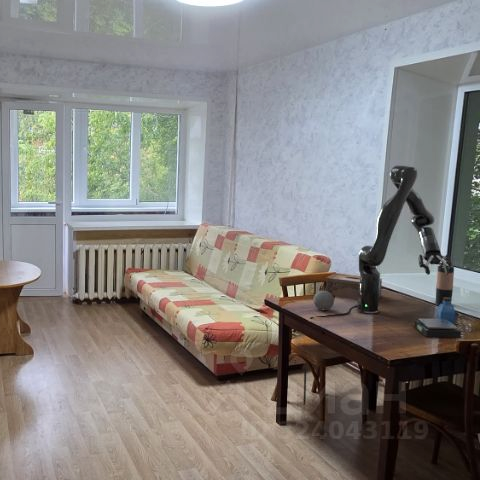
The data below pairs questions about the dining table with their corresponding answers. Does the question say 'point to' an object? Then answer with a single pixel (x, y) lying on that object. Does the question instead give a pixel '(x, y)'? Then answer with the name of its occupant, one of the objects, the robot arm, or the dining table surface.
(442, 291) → the travel mug
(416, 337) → the dining table surface
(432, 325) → the scale pan
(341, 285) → the tissue box cover
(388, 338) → the dining table surface
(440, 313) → the perfume bottle
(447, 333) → the scale
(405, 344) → the dining table surface
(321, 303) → the decorative ball
